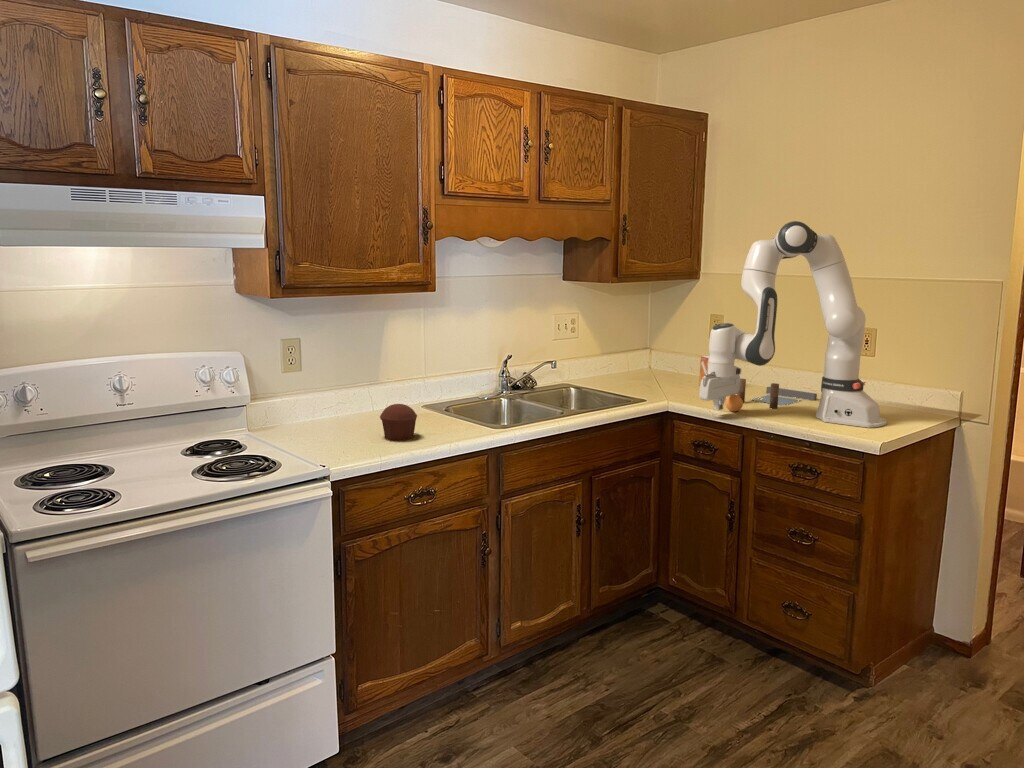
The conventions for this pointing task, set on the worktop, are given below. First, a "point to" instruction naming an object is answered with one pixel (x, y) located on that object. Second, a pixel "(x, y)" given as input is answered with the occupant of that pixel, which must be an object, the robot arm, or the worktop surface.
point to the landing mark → (780, 400)
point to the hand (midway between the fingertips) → (718, 409)
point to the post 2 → (774, 395)
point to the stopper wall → (795, 393)
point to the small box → (703, 367)
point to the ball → (734, 403)
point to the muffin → (398, 422)
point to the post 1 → (742, 389)
